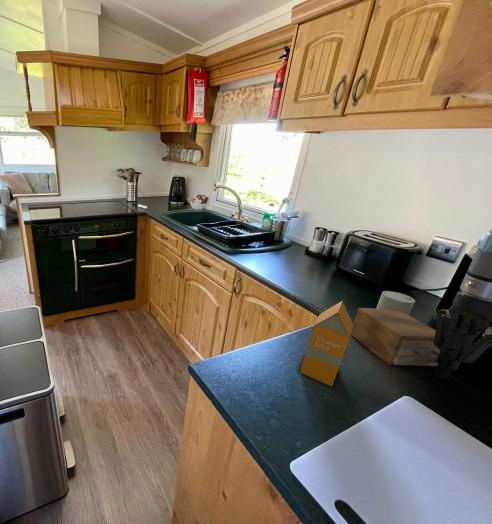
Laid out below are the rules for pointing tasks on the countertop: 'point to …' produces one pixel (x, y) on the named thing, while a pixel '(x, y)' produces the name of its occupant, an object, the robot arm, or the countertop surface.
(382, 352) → the cabinet
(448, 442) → the countertop surface
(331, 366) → the orange juice
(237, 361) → the countertop surface
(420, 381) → the countertop surface
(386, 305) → the can
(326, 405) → the countertop surface
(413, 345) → the drawer
